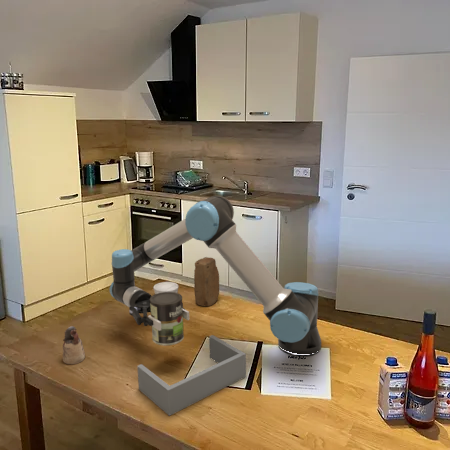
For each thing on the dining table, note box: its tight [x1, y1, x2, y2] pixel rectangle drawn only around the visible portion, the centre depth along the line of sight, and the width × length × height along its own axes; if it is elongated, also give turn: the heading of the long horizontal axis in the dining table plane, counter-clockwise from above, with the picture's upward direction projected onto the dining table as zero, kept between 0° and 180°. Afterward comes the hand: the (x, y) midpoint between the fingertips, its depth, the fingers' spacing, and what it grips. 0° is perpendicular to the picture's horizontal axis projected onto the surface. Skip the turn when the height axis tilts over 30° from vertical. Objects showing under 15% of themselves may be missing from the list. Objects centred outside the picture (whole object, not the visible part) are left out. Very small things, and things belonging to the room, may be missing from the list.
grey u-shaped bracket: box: [136, 334, 247, 417], centre depth 142 cm, size 16×29×8 cm, turn 131°
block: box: [193, 256, 220, 307], centre depth 199 cm, size 11×8×20 cm
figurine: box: [62, 325, 86, 365], centre depth 156 cm, size 7×7×12 cm
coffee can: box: [150, 292, 185, 347], centre depth 148 cm, size 10×10×14 cm
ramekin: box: [153, 281, 179, 295], centre depth 208 cm, size 11×11×5 cm
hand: (174, 321), depth 145 cm, fingers closed on coffee can, 10 cm apart
